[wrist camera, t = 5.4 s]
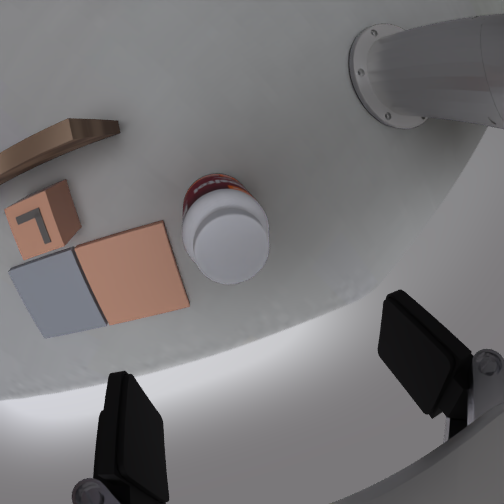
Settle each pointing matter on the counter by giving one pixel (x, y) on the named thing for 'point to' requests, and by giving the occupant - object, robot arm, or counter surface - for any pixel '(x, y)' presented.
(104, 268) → the terracotta pad
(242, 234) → the pill bottle
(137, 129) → the counter surface
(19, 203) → the terracotta cube
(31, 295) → the slate pad
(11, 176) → the walnut wall
